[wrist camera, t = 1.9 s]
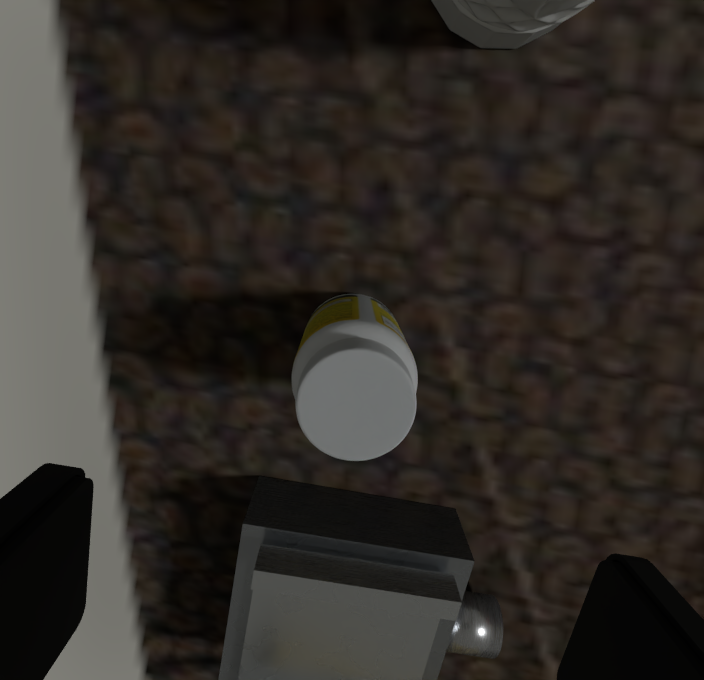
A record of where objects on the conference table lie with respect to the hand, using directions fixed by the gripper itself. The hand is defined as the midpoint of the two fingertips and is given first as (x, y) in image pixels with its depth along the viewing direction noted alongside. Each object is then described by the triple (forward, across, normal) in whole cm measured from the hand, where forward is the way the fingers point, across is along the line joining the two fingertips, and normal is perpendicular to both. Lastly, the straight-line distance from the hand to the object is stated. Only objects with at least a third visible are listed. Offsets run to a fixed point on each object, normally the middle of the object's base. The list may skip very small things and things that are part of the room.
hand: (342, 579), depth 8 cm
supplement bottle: (+15, 0, -1) cm, 15 cm away
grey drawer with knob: (+15, -4, +13) cm, 21 cm away
